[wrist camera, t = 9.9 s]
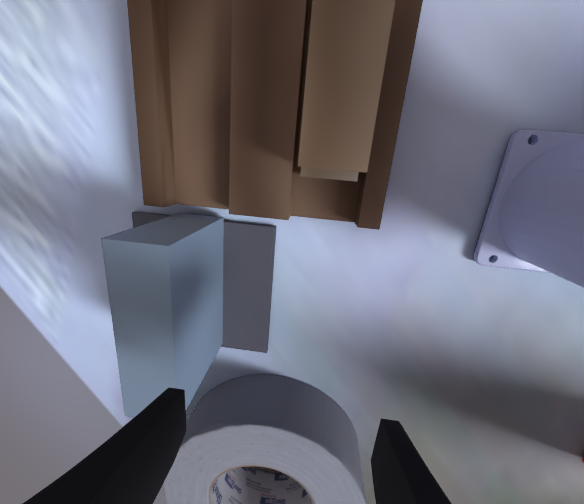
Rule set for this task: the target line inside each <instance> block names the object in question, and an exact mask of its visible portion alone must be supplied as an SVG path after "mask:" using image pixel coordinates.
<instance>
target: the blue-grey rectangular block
mask: <svg viewBox="0 0 584 504" xmlns="http://www.w3.org/2000/svg"><path fill="white" fill-rule="evenodd" d="M223 237H224V217H216V216H206V215H197V214H187V213H178V214H175V215H172V216H169V217H166V218H163V219H160V220H157V221H154V222H151V223H148V224H145V225H141V226H138V227H135V228H132V229H129V230H126V231H123V232H120V233H117V234H114V235H111V236H108V237H105V238H102V239H101V240H102V248H103V255H104V263H105V270H106V277H107V285H108V292H109V300H110V307H111V315H112V322H113V330H114V337H115V344H116V352H117V359H118V367H119V374H120V382H121V389H122V397H123V404H124V411H125V416H128V417H135V416H137V415H138V414H139V413H140V412H141V411H142V410H143V409H145V408H146V407H147V406H148V405H149V404H150V403H151V402H152V401H154V400H155V399H156V398H157V397H158V396H159V395H160V394H161V393H163V392H164V391H165V390H166V389H167V388H169V387H170V388H176V389H183V390H185V409H187V408H188V406H189V404H190V402H191V400H192V398H193V397H194V395H195V393H196V391H197V389H198V387H199V386H200V384H201V382H202V380H203V378H204V376H205V375H206V373H207V371H208V369H209V367H210V365H211V364H212V362H213V360H214V358H215V356H216V354H217V353H218V351H219V349H220V347H221V345H222V343H223Z"/></svg>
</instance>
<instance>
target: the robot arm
mask: <svg viewBox="0 0 584 504" xmlns="http://www.w3.org/2000/svg"><path fill="white" fill-rule="evenodd" d="M530 136H532V138H533V141H532V143H531V144H529V143H528V139H529V137H530ZM492 255H494V258H493V259H492V260H491V261H489V258H490V256H492ZM474 261H475V262H476V263H478V264H480V265H485V266H494V267H503V268H512V269H521V270H530V271H540V272H549V273H553V274H555V275H557V276H559V277H562V278H564V279H566V280H568V281H571V282H573V283H575V284H577V285H579V286H582V287H584V134H578V133H566V132H553V131H540V130H527V129H525V130H519V131H517V132H515V133H514V134H513V135H512V136H511V138H510V140H509V144H508V147H507V150H506V153H505V157H504V160H503V163H502V166H501V169H500V173H499V176H498V179H497V182H496V186H495V189H494V192H493V195H492V199H491V202H490V205H489V208H488V211H487V215H486V218H485V221H484V224H483V228H482V231H481V234H480V237H479V241H478V244H477V247H476V250H475V254H474ZM185 433H186V409H185V390H183V389H176V388H170V387H169V388H167V389H166V390H165V391H164V392H163V393H161V394H160V395H159V396H158V397H157V398H156V399H155V400H154V401H152V402H151V403H150V404H149V405H148V406H147V407H146V408H145V409H143V410H142V411H141V412H140V413H139V414H138V415H137V416H135V417H134V418H133V419H132V420H131V421H130V422H128V423H127V424H126V425H125V426H124V427H123V428H121V429H120V430H119V431H118V432H117V433H115V434H114V435H113V436H112V437H111V438H110V439H108V440H107V441H106V442H105V443H103V444H102V445H101V446H100V447H98V448H97V449H96V450H95V451H93V452H92V453H91V454H90V455H88V456H87V457H86V458H84V459H83V460H82V461H81V462H79V463H78V464H77V465H76V466H74V467H73V468H72V469H71V470H69V471H68V472H66V473H65V474H64V475H62V476H61V477H60V478H58V479H57V480H55V481H54V482H53V483H52V484H50V485H49V486H47V487H46V488H44V489H43V490H42V491H40V492H39V493H37V494H36V495H34V496H33V497H32V498H30V499H29V500H27V501H26V502H24V503H23V504H153V502H154V500H155V498H156V496H157V494H158V492H159V490H160V489H161V487H162V485H163V483H164V481H165V479H166V477H167V475H168V473H169V471H170V469H171V467H172V465H173V463H174V461H175V458H176V456H177V454H178V451H179V449H180V446H181V444H182V441H183V439H184V436H185ZM371 466H372V475H373V484H374V492H375V499H376V504H451V502H450V501H449V499H448V498H447V496H446V495H445V493H444V492H443V490H442V489H441V487H440V486H439V484H438V483H437V481H436V480H435V478H434V477H433V475H432V474H431V472H430V471H429V469H428V467H427V466H426V464H425V463H424V461H423V460H422V458H421V456H420V455H419V453H418V452H417V450H416V448H415V447H414V445H413V443H412V442H411V440H410V438H409V437H408V435H407V433H406V432H405V430H404V428H403V427H402V425H401V424H400V422H399V421H394V420H387V419H381V421H380V425H379V429H378V433H377V437H376V441H375V445H374V449H373V453H372V457H371Z"/></svg>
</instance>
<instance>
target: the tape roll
mask: <svg viewBox="0 0 584 504" xmlns="http://www.w3.org/2000/svg"><path fill="white" fill-rule="evenodd" d="M252 466H255V467H265V468H270V469H274V470H276V471H279V472H282V473H284V474H270V473H265V472H261V471H259V470H256V469H254V468H252ZM163 484H164V495H165V498H166V502H167V504H367V503H366V497H365V491H364V485H363V478H362V471H361V464H360V456H359V448H358V441H357V436H356V432H355V429H354V427H353V424H352V422H351V421H350V419H349V417H348V416H347V414H346V413H345V412H344V410H343V409H342V408H341V407H340V406H339V405H338V404H337V403H336V402H335V401H334V400H333V399H332V398H330V397H329V396H328V395H326V394H325V393H324V392H322V391H320V390H319V389H317V388H315V387H313V386H311V385H309V384H307V383H304V382H302V381H299V380H296V379H293V378H289V377H285V376H279V375H271V374H254V375H246V376H241V377H238V378H234V379H231V380H228V381H226V382H224V383H222V384H220V385H218V386H216V387H214V388H213V389H212V390H210V391H209V392H208V393H207V394H206V395H205V396H204V397H203V398H202V399H201V400H200V402H199V403H198V405H197V406H196V408H195V410H194V412H193V414H192V416H191V418H190V420H189V421H188V423H187V425H186V433H185V436H184V439H183V441H182V444H181V446H180V449H179V451H178V454H177V456H176V458H175V461H174V463H173V465H172V467H171V469H170V471H169V473H168V475H167V477H166V479H165V481H164V483H163Z"/></svg>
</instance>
